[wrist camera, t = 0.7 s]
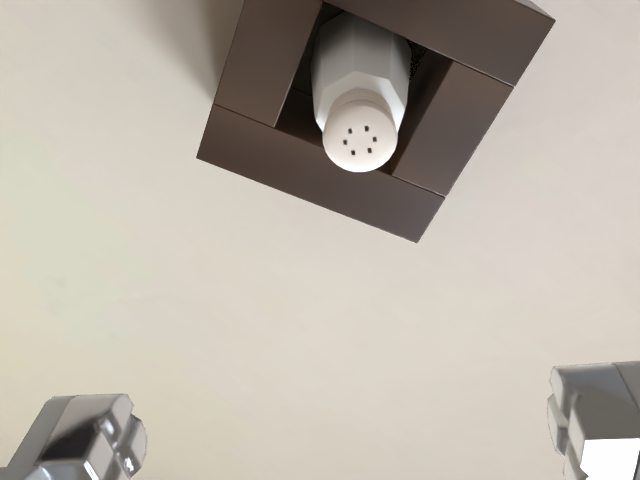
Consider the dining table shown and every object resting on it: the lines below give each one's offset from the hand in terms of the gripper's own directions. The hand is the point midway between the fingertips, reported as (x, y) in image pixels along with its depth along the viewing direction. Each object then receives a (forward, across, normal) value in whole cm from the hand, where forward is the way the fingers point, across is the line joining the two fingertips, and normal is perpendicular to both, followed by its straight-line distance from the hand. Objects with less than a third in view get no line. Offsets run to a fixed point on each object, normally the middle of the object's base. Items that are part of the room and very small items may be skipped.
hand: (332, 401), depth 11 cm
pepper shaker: (+23, 0, 0) cm, 23 cm away
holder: (+23, 0, 0) cm, 23 cm away
